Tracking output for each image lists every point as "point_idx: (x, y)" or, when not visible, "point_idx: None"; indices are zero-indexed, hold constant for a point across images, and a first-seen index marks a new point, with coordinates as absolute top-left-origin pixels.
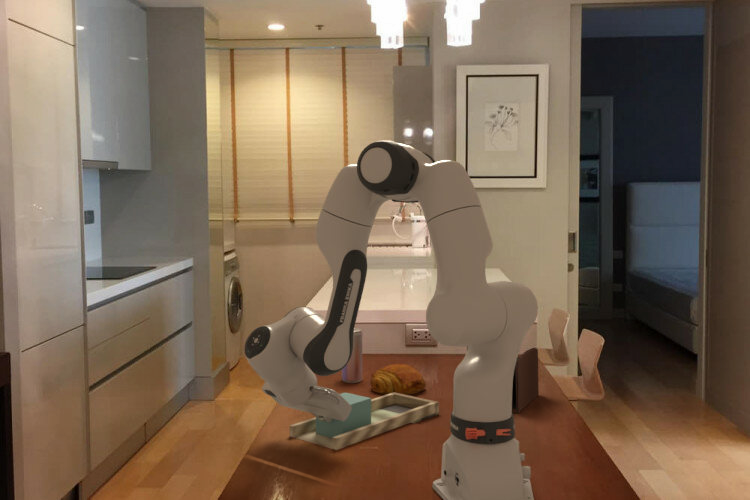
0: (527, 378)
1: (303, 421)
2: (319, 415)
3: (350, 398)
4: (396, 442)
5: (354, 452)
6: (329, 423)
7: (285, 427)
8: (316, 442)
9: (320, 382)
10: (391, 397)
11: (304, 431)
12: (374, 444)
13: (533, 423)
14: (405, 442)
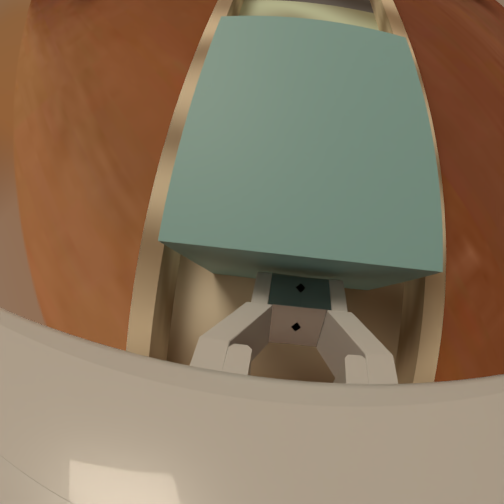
0: None
1: (138, 284)
2: (268, 333)
3: (331, 67)
4: (479, 180)
5: (450, 344)
6: (300, 275)
7: (69, 253)
8: (291, 373)
9: (56, 9)
10: None
11: (170, 303)
12: (454, 232)
13: (496, 17)
14: (490, 168)
